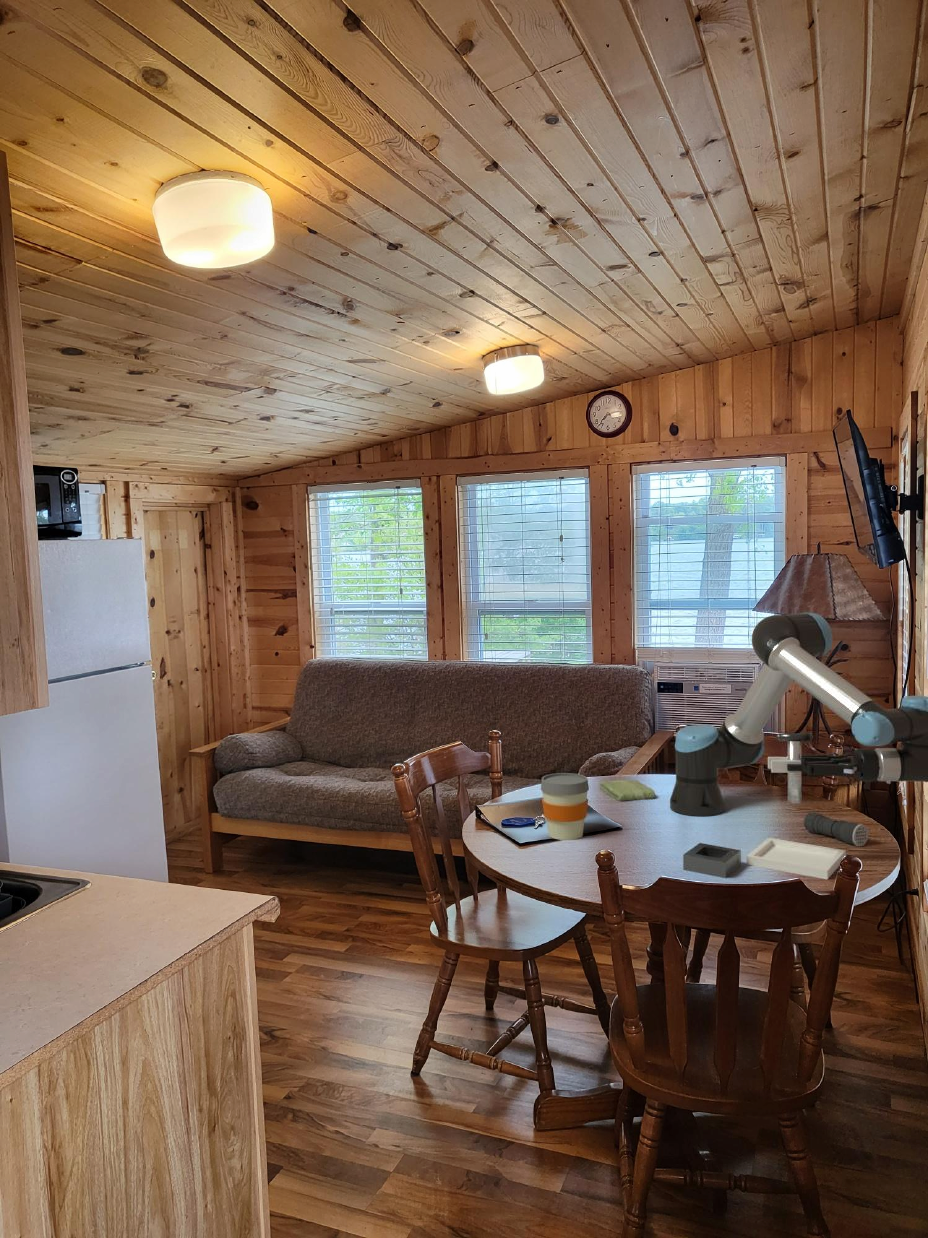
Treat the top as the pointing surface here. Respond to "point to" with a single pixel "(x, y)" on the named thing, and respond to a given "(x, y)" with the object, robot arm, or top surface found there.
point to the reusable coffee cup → (565, 804)
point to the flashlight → (836, 829)
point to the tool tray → (796, 858)
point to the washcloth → (627, 790)
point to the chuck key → (795, 754)
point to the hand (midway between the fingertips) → (770, 764)
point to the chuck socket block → (712, 860)
